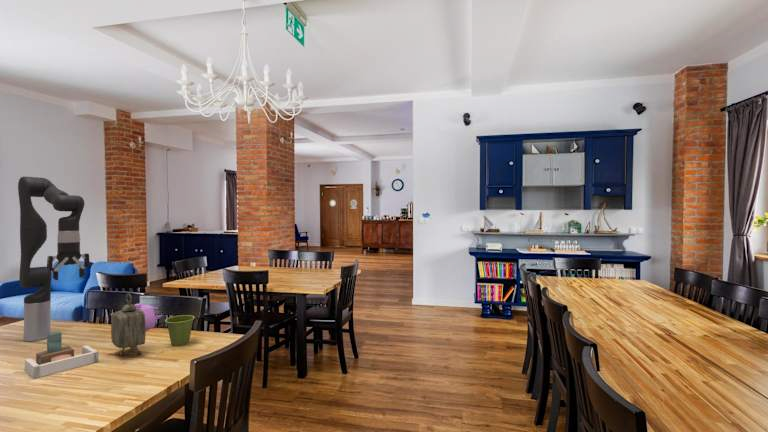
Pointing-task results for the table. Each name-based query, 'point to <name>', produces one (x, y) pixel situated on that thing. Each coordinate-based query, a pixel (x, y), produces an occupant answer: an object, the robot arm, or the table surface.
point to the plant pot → (180, 329)
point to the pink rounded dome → (60, 357)
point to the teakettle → (148, 315)
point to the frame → (62, 363)
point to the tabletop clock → (128, 327)
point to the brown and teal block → (53, 348)
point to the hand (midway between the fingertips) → (68, 278)
